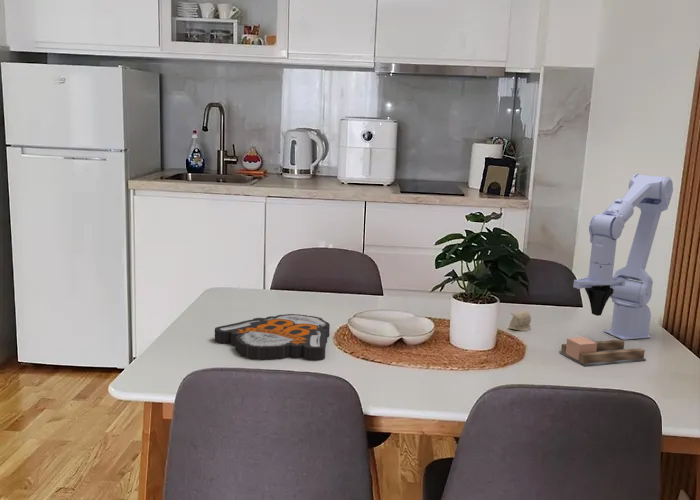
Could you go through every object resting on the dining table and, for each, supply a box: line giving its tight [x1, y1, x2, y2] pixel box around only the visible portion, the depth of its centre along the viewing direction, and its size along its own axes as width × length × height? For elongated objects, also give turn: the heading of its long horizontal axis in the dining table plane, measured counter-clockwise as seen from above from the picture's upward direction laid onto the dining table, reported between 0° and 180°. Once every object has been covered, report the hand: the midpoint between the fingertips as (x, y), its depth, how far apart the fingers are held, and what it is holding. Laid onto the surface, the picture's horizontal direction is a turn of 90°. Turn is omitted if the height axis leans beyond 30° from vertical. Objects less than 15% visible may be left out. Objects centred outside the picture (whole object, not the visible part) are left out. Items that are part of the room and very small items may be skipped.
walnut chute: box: [558, 339, 647, 368], centre depth 175 cm, size 18×10×2 cm, turn 110°
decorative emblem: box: [214, 313, 331, 362], centre depth 176 cm, size 29×3×30 cm
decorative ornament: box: [507, 310, 532, 332], centre depth 196 cm, size 4×8×5 cm, turn 124°
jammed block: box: [565, 336, 597, 361], centre depth 173 cm, size 5×5×4 cm
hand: (596, 314), depth 181 cm, fingers closed
